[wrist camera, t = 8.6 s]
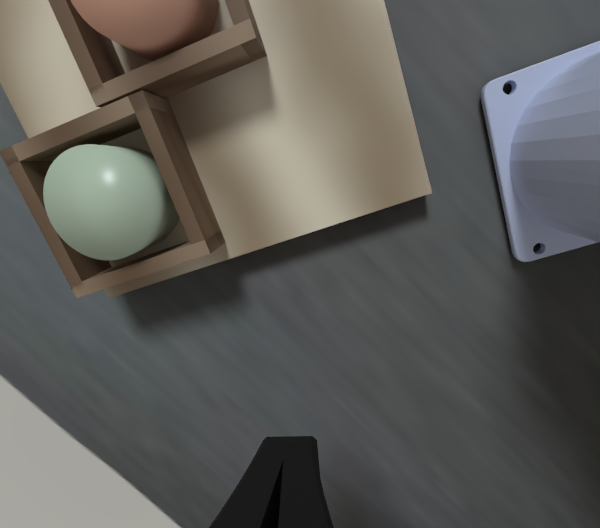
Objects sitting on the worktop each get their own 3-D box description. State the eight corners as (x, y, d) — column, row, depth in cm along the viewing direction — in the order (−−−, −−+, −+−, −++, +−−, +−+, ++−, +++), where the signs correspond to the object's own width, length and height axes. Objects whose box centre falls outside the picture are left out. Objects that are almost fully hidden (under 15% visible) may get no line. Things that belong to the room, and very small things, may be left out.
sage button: (156, 132, 15) (122, 126, 13) (196, 228, 16) (172, 240, 14) (70, 166, 16) (22, 168, 14) (114, 257, 17) (77, 273, 15)
